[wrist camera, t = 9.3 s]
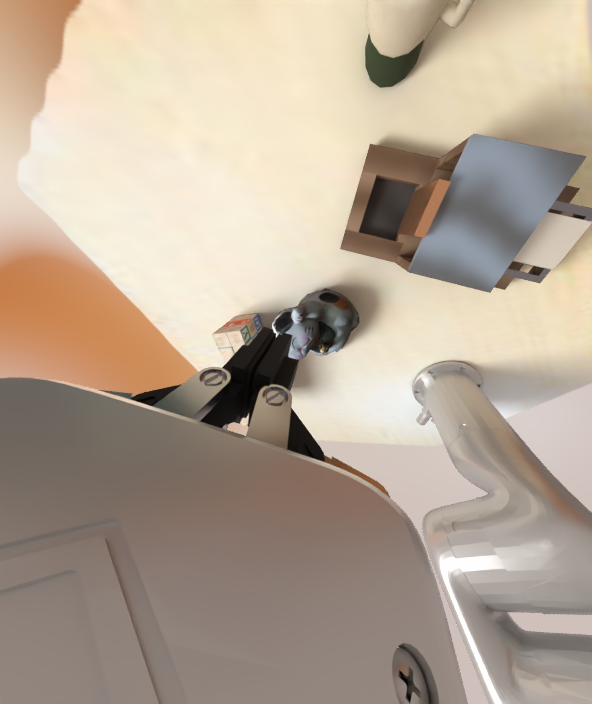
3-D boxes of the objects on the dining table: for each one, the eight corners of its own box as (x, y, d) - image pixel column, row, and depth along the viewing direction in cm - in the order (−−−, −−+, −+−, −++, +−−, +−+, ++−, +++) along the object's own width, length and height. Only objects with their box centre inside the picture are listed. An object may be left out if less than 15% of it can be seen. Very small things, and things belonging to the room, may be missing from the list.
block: (519, 262, 30) (553, 269, 25) (483, 254, 31) (510, 259, 26) (548, 222, 28) (592, 222, 23) (508, 214, 28) (544, 211, 23)
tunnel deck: (495, 285, 35) (549, 307, 25) (340, 247, 36) (338, 254, 27) (562, 191, 28) (670, 173, 19) (368, 149, 30) (378, 114, 20)
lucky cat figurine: (331, 360, 48) (290, 394, 39) (295, 323, 50) (250, 348, 42) (373, 315, 37) (329, 349, 28) (325, 270, 39) (270, 289, 30)
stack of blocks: (233, 316, 47) (202, 341, 37) (258, 312, 46) (233, 337, 35) (260, 390, 57) (241, 426, 47) (282, 389, 56) (267, 426, 45)
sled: (529, 280, 31) (592, 298, 23) (391, 246, 32) (406, 253, 24) (583, 211, 26) (685, 204, 18) (420, 175, 28) (449, 154, 20)
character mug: (455, 34, 24) (549, -133, 13) (407, 117, 27) (448, 44, 16) (373, -30, 23) (400, -272, 12) (336, 65, 26) (329, -49, 15)
